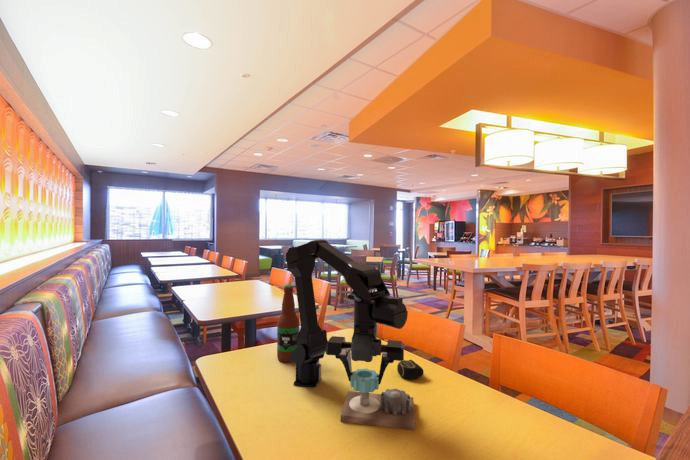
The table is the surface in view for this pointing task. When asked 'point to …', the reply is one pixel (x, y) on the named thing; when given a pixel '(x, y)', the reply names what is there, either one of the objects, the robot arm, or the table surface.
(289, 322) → the bottle
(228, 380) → the table surface
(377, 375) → the teal gear
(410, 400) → the gear board
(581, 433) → the table surface
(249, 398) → the table surface
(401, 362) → the tape measure
